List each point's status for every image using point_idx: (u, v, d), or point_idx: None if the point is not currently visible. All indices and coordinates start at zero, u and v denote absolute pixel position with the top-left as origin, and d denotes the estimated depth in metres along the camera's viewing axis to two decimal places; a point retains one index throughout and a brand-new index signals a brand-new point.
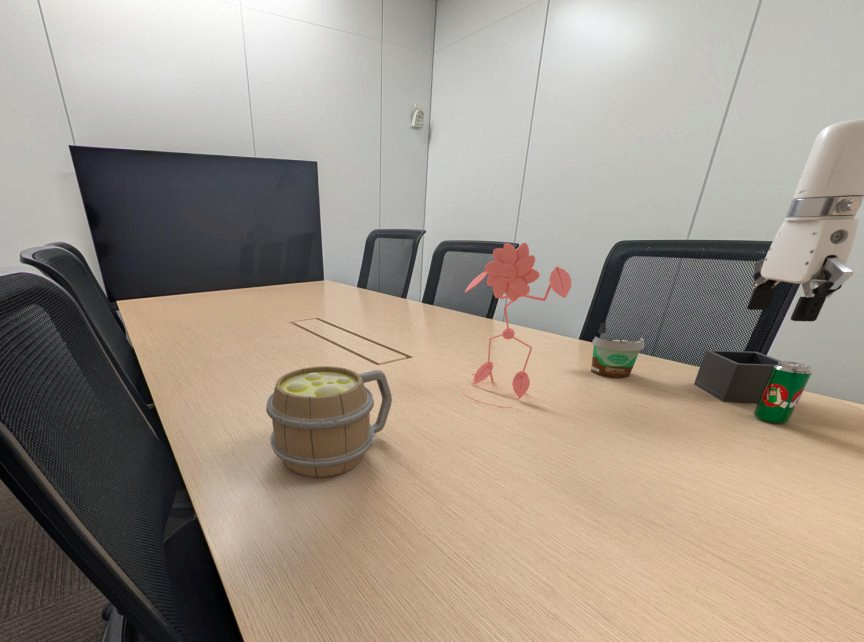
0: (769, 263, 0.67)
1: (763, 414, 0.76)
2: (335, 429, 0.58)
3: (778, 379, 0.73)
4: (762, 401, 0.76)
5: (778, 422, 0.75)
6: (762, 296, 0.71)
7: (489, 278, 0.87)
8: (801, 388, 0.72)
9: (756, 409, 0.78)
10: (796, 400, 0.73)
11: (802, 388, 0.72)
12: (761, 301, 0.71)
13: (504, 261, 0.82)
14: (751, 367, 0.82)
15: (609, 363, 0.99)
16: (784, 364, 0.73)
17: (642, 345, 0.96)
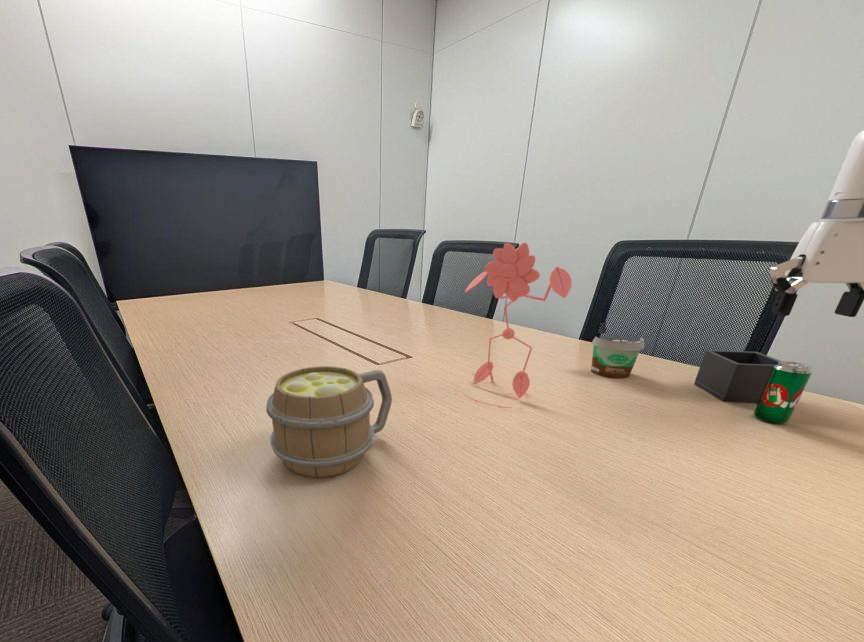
0: (823, 266, 0.64)
1: (763, 414, 0.76)
2: (335, 429, 0.58)
3: (778, 379, 0.73)
4: (762, 401, 0.76)
5: (778, 422, 0.75)
6: None
7: (489, 278, 0.87)
8: (801, 388, 0.72)
9: (756, 409, 0.78)
10: (796, 400, 0.73)
11: (802, 388, 0.72)
12: None
13: (504, 261, 0.82)
14: (751, 367, 0.82)
15: (609, 363, 0.99)
16: (784, 364, 0.73)
17: (642, 345, 0.96)
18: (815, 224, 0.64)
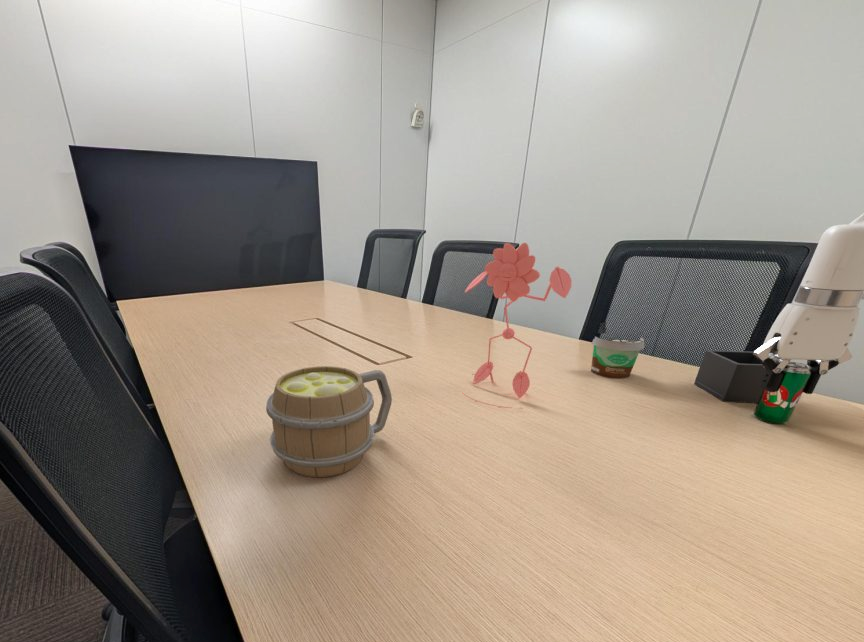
0: (796, 346, 0.69)
1: (763, 414, 0.76)
2: (335, 429, 0.58)
3: None
4: (762, 401, 0.76)
5: (778, 422, 0.75)
6: None
7: (489, 278, 0.87)
8: (801, 388, 0.72)
9: (756, 409, 0.78)
10: (796, 400, 0.73)
11: (802, 388, 0.72)
12: None
13: (504, 261, 0.82)
14: (751, 367, 0.82)
15: (609, 363, 0.99)
16: None
17: (642, 345, 0.96)
18: (789, 306, 0.69)
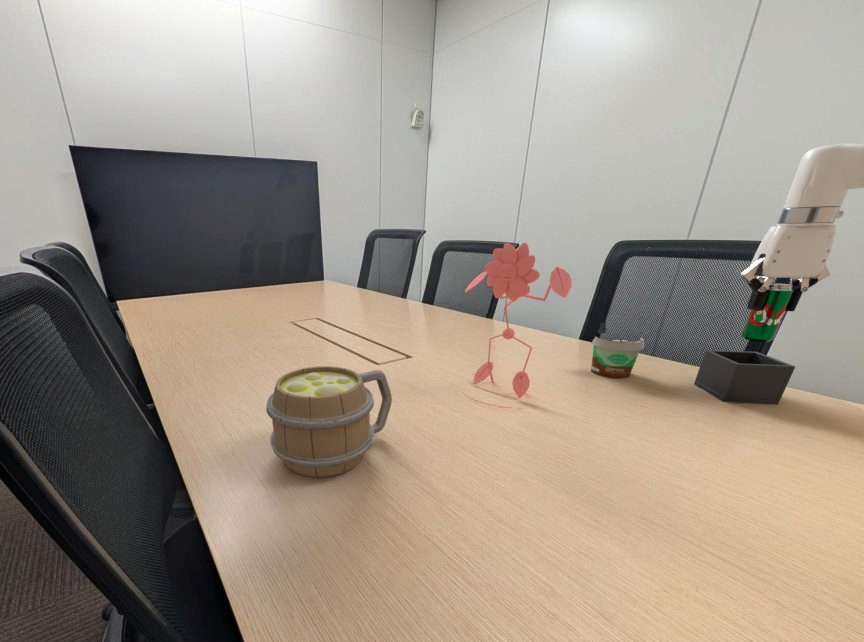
0: (779, 263, 0.76)
1: (750, 333, 0.82)
2: (335, 429, 0.58)
3: None
4: (749, 322, 0.82)
5: (764, 339, 0.81)
6: None
7: (489, 278, 0.87)
8: (784, 305, 0.78)
9: (744, 330, 0.84)
10: (780, 317, 0.79)
11: (785, 305, 0.78)
12: None
13: (504, 261, 0.82)
14: (751, 367, 0.82)
15: (609, 363, 0.99)
16: None
17: (642, 345, 0.96)
18: (773, 228, 0.76)
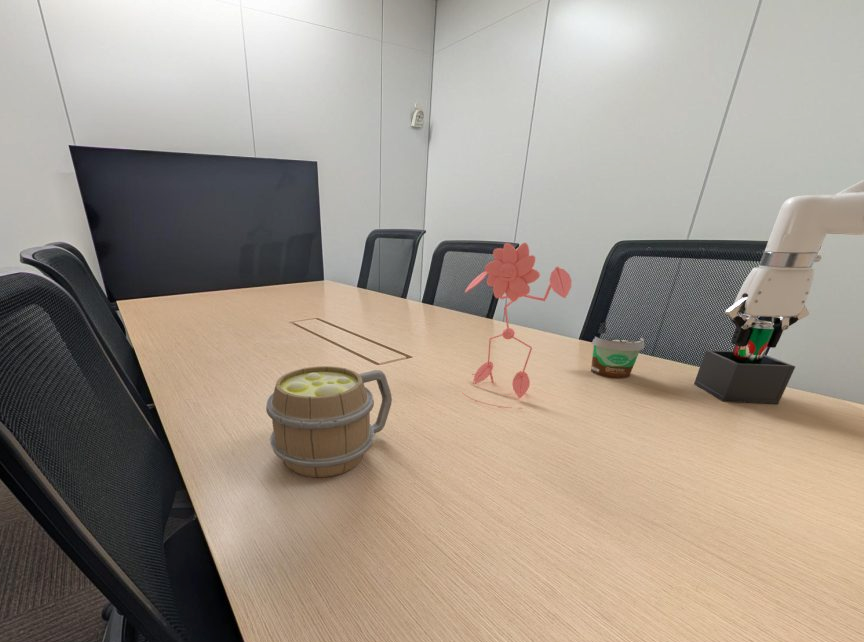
0: (761, 304, 0.79)
1: None
2: (335, 429, 0.58)
3: None
4: (733, 356, 0.86)
5: None
6: None
7: (489, 278, 0.87)
8: (766, 342, 0.82)
9: None
10: (762, 353, 0.83)
11: (767, 342, 0.82)
12: None
13: (504, 261, 0.82)
14: (751, 367, 0.82)
15: (609, 363, 0.99)
16: None
17: (642, 345, 0.96)
18: (755, 269, 0.80)
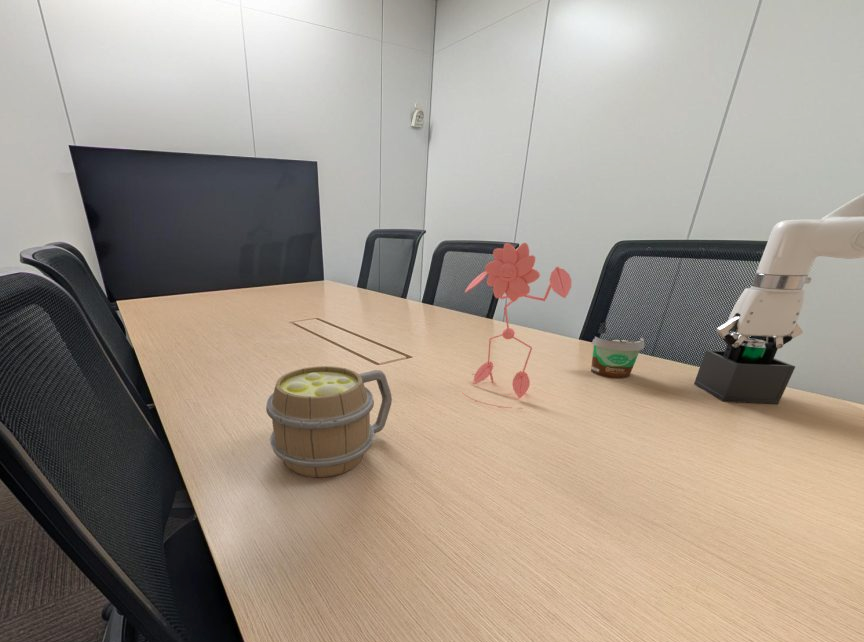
0: (753, 324, 0.81)
1: None
2: (335, 429, 0.58)
3: (740, 353, 0.85)
4: None
5: None
6: None
7: (489, 278, 0.87)
8: (758, 361, 0.84)
9: None
10: None
11: (760, 360, 0.84)
12: None
13: (504, 261, 0.82)
14: (751, 367, 0.82)
15: (609, 363, 0.99)
16: (745, 340, 0.85)
17: (642, 345, 0.96)
18: (747, 290, 0.81)
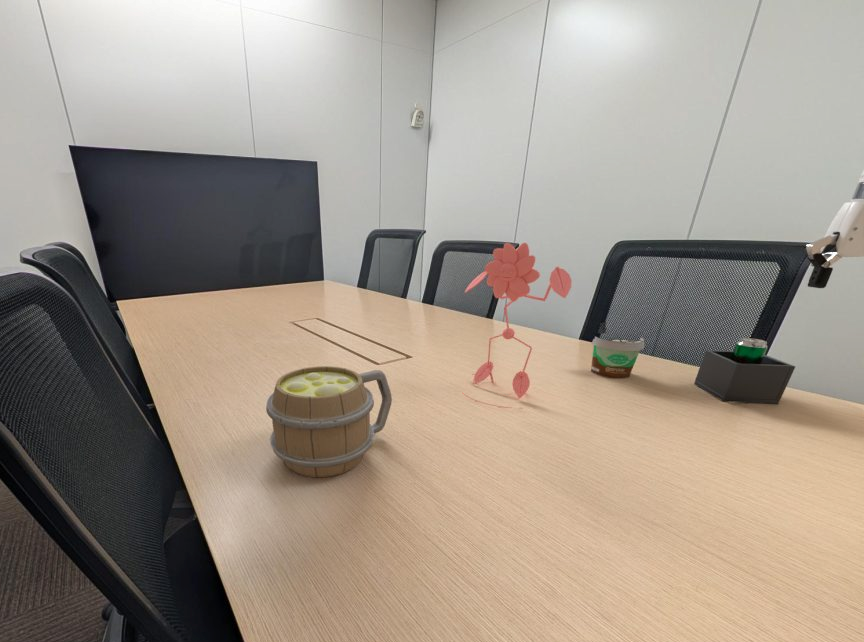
0: (857, 241, 0.71)
1: None
2: (335, 429, 0.58)
3: (740, 353, 0.85)
4: None
5: None
6: None
7: (489, 278, 0.87)
8: (758, 361, 0.84)
9: None
10: None
11: (760, 360, 0.84)
12: None
13: (504, 261, 0.82)
14: (751, 367, 0.82)
15: (609, 363, 0.99)
16: (745, 340, 0.85)
17: (642, 345, 0.96)
18: (847, 204, 0.71)
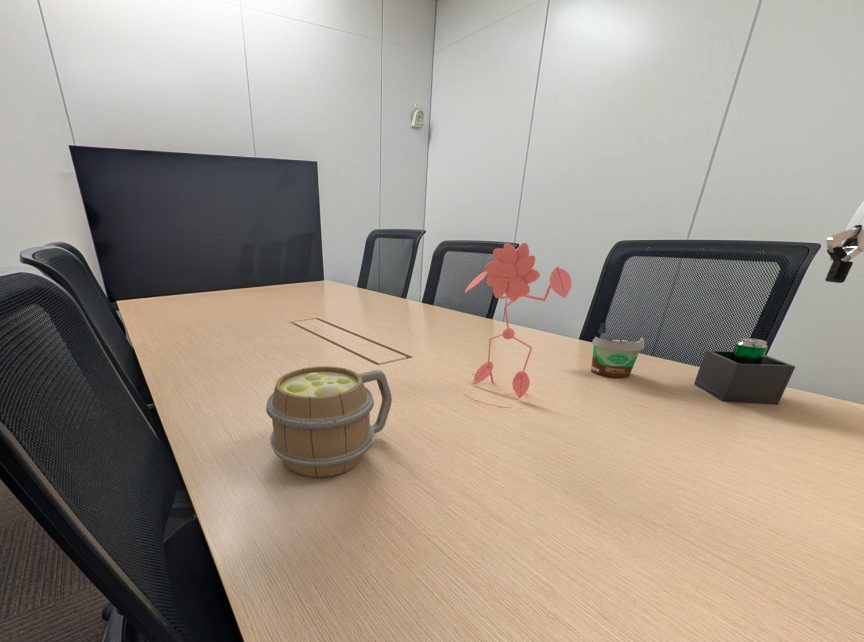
0: None
1: None
2: (335, 429, 0.58)
3: (740, 353, 0.85)
4: None
5: None
6: None
7: (489, 278, 0.87)
8: (758, 361, 0.84)
9: None
10: None
11: (760, 360, 0.84)
12: None
13: (504, 261, 0.82)
14: (751, 367, 0.82)
15: (609, 363, 0.99)
16: (745, 340, 0.85)
17: (642, 345, 0.96)
18: None
